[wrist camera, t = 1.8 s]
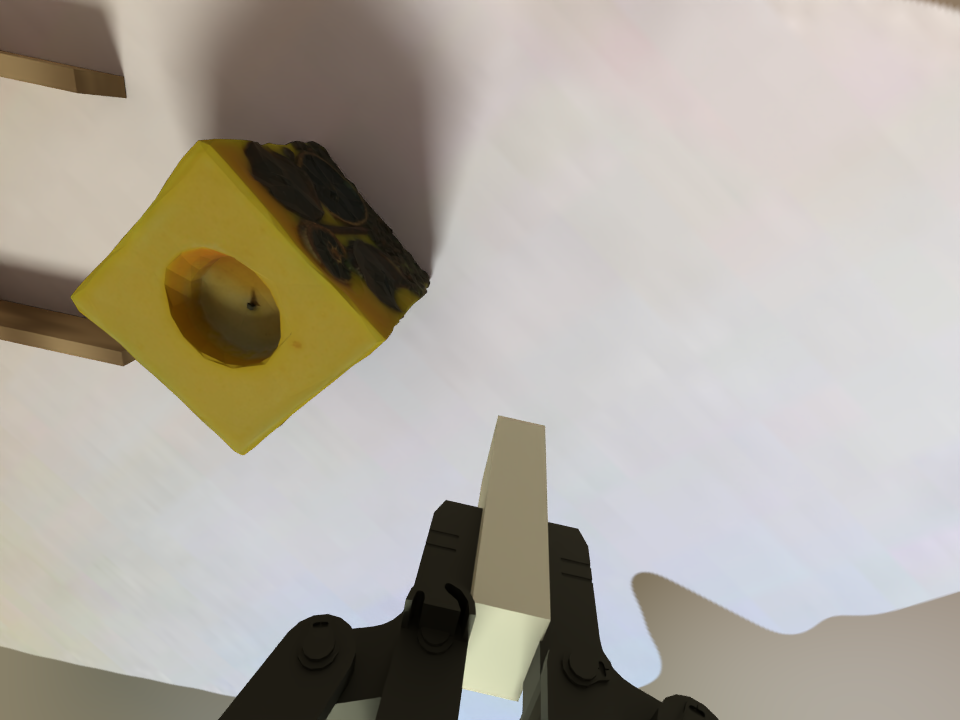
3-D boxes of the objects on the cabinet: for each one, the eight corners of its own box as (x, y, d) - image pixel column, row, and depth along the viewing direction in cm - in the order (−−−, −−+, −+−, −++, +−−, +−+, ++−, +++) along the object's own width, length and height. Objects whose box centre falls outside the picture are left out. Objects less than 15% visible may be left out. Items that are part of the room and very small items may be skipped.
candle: (325, 371, 31) (242, 464, 22) (207, 251, 28) (57, 303, 19) (438, 281, 28) (394, 349, 19) (316, 135, 25) (196, 132, 16)
